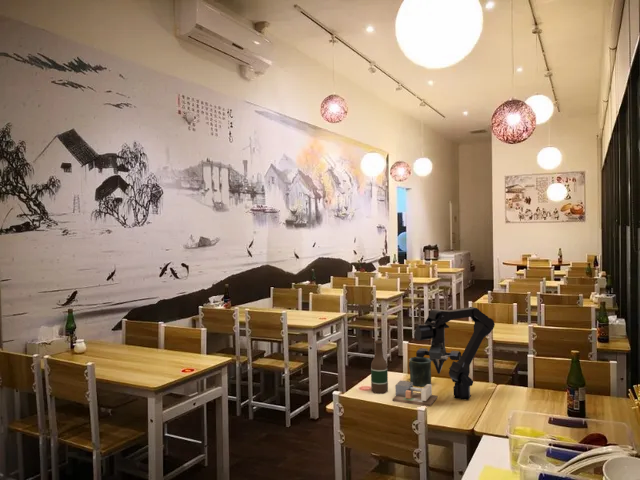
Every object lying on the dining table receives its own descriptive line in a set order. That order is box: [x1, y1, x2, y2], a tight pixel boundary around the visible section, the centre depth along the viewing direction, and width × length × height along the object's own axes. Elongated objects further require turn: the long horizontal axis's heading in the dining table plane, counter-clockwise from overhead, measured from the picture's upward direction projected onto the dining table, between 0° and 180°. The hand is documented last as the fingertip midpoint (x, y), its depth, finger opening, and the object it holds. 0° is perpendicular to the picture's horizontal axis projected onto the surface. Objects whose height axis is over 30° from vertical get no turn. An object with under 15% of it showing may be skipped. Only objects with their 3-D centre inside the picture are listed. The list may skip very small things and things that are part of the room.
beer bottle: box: [370, 339, 389, 395], centre depth 236 cm, size 8×8×24 cm
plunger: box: [410, 383, 433, 401], centre depth 224 cm, size 9×10×4 cm
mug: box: [408, 356, 433, 388], centre depth 248 cm, size 11×15×12 cm
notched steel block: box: [395, 380, 414, 397], centre depth 228 cm, size 6×7×5 cm
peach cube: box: [406, 390, 411, 399], centre depth 223 cm, size 2×2×3 cm
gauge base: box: [392, 391, 438, 407], centre depth 225 cm, size 17×12×1 cm
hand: (438, 373), depth 222 cm, fingers closed
